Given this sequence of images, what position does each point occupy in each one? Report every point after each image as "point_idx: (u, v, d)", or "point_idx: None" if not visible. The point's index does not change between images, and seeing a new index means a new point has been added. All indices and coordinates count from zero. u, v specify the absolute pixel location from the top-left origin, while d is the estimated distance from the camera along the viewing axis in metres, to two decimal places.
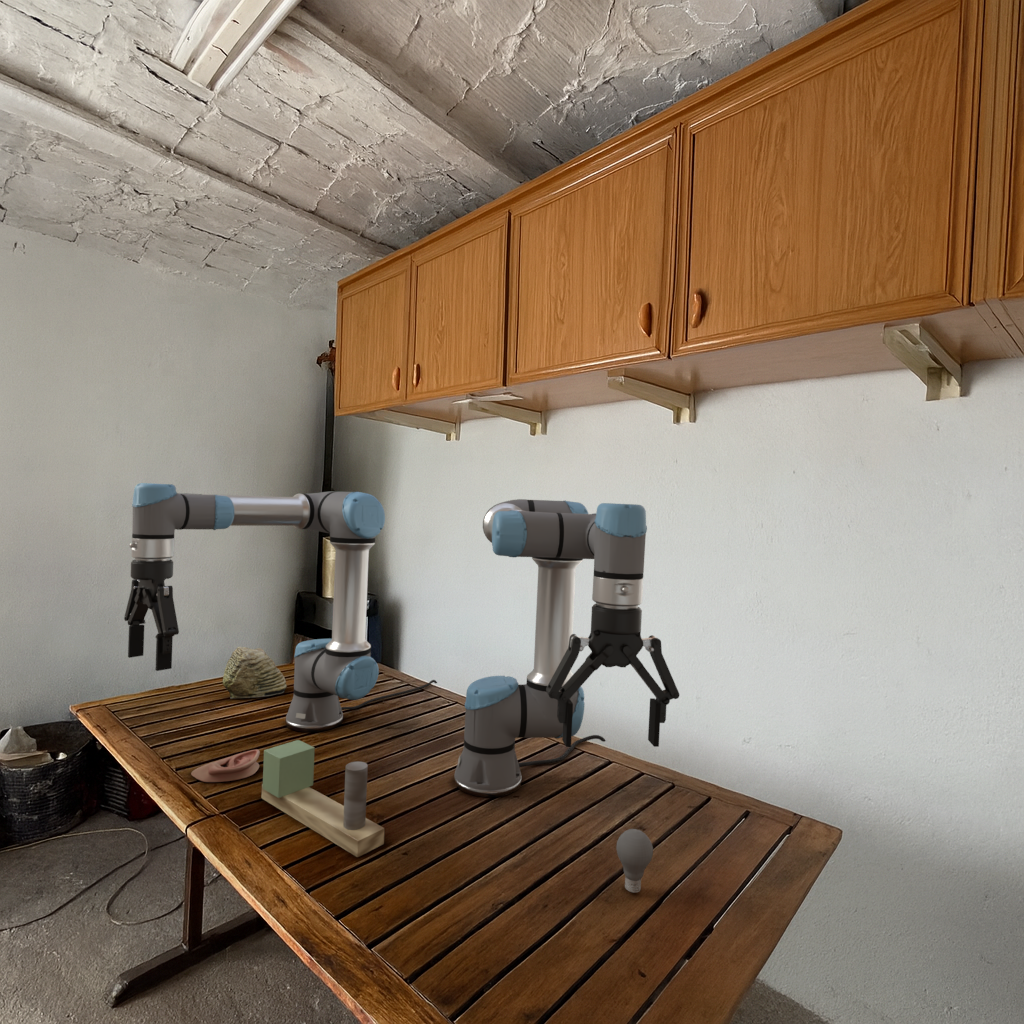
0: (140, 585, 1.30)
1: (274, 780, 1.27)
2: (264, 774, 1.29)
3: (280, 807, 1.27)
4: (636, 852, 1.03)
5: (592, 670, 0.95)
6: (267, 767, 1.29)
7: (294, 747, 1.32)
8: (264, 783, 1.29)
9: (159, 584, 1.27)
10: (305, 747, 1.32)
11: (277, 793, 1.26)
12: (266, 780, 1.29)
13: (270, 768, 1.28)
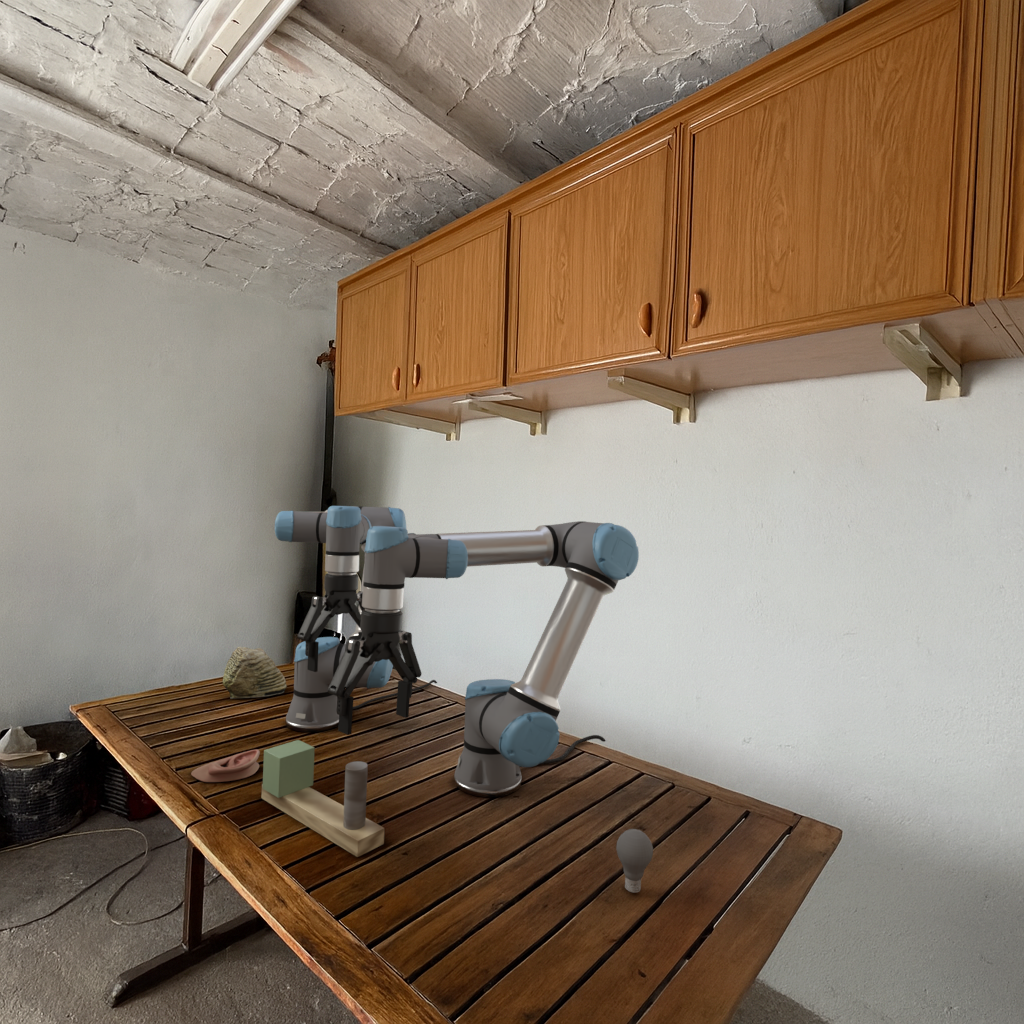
0: None
1: (274, 780, 1.27)
2: (264, 774, 1.30)
3: (280, 807, 1.27)
4: (636, 852, 1.03)
5: (389, 657, 1.21)
6: (267, 767, 1.29)
7: (294, 747, 1.32)
8: (264, 783, 1.29)
9: (327, 595, 1.42)
10: (305, 747, 1.32)
11: (277, 793, 1.26)
12: (266, 780, 1.29)
13: (270, 768, 1.28)
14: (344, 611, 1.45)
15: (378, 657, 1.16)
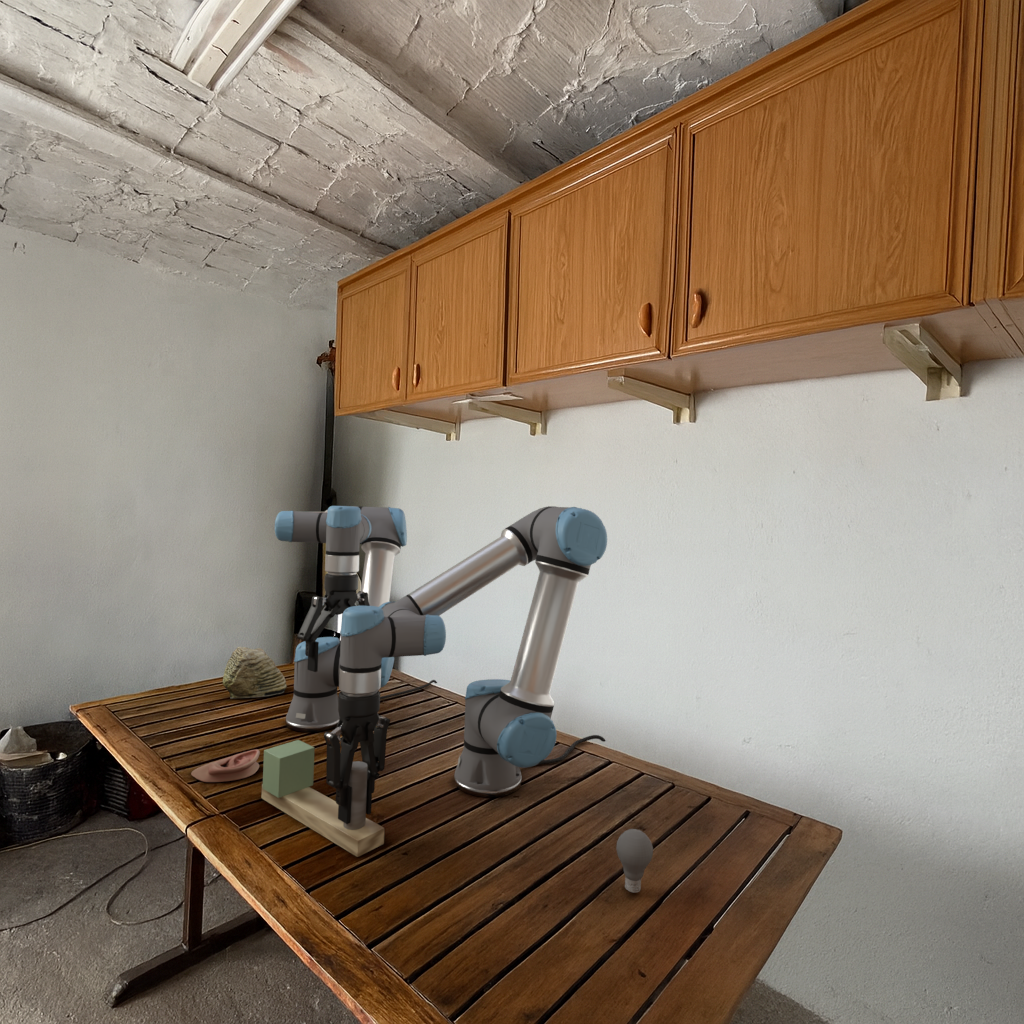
0: None
1: (274, 780, 1.27)
2: (264, 774, 1.30)
3: (280, 807, 1.27)
4: (636, 852, 1.03)
5: None
6: (267, 767, 1.29)
7: (294, 747, 1.32)
8: (264, 783, 1.29)
9: (327, 595, 1.42)
10: (305, 747, 1.32)
11: (277, 793, 1.26)
12: (266, 780, 1.29)
13: (270, 768, 1.28)
14: None
15: None
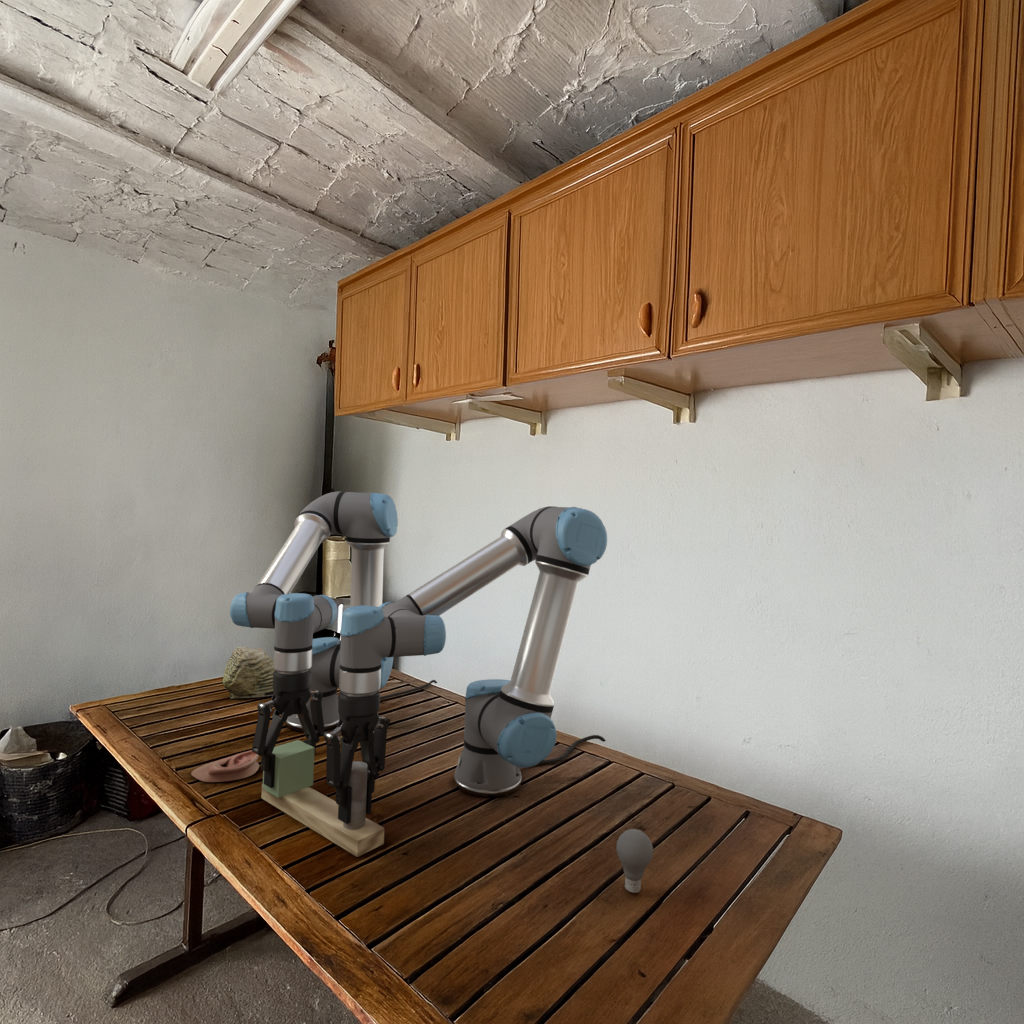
0: None
1: None
2: None
3: (280, 807, 1.27)
4: (636, 852, 1.03)
5: None
6: None
7: (294, 747, 1.32)
8: None
9: (275, 696, 1.28)
10: (305, 747, 1.32)
11: (277, 793, 1.26)
12: None
13: None
14: (295, 712, 1.30)
15: None
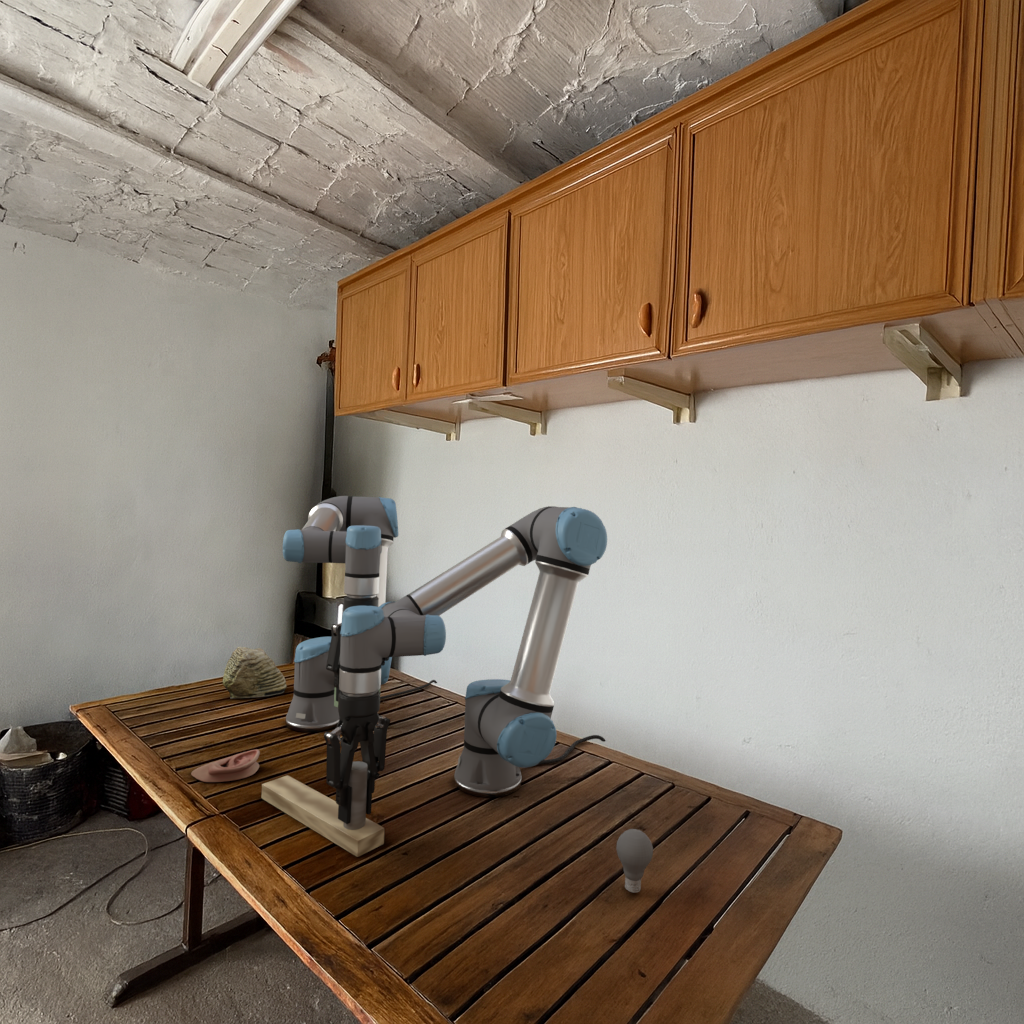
0: None
1: None
2: (335, 692, 1.39)
3: (280, 807, 1.27)
4: (636, 852, 1.03)
5: None
6: None
7: None
8: (335, 700, 1.39)
9: None
10: None
11: None
12: None
13: None
14: None
15: None
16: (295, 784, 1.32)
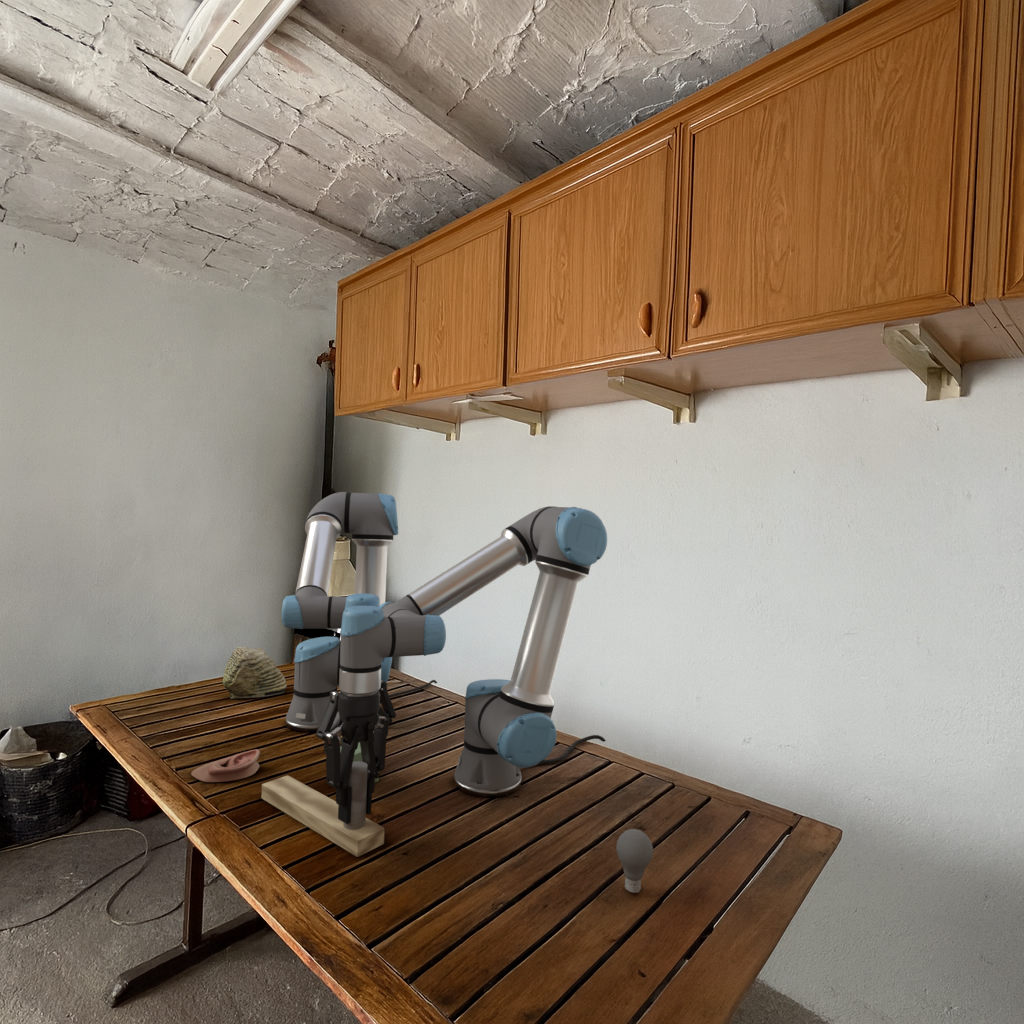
0: None
1: None
2: None
3: (280, 807, 1.27)
4: (636, 852, 1.03)
5: None
6: None
7: None
8: None
9: None
10: None
11: None
12: None
13: None
14: None
15: None
16: (295, 784, 1.32)
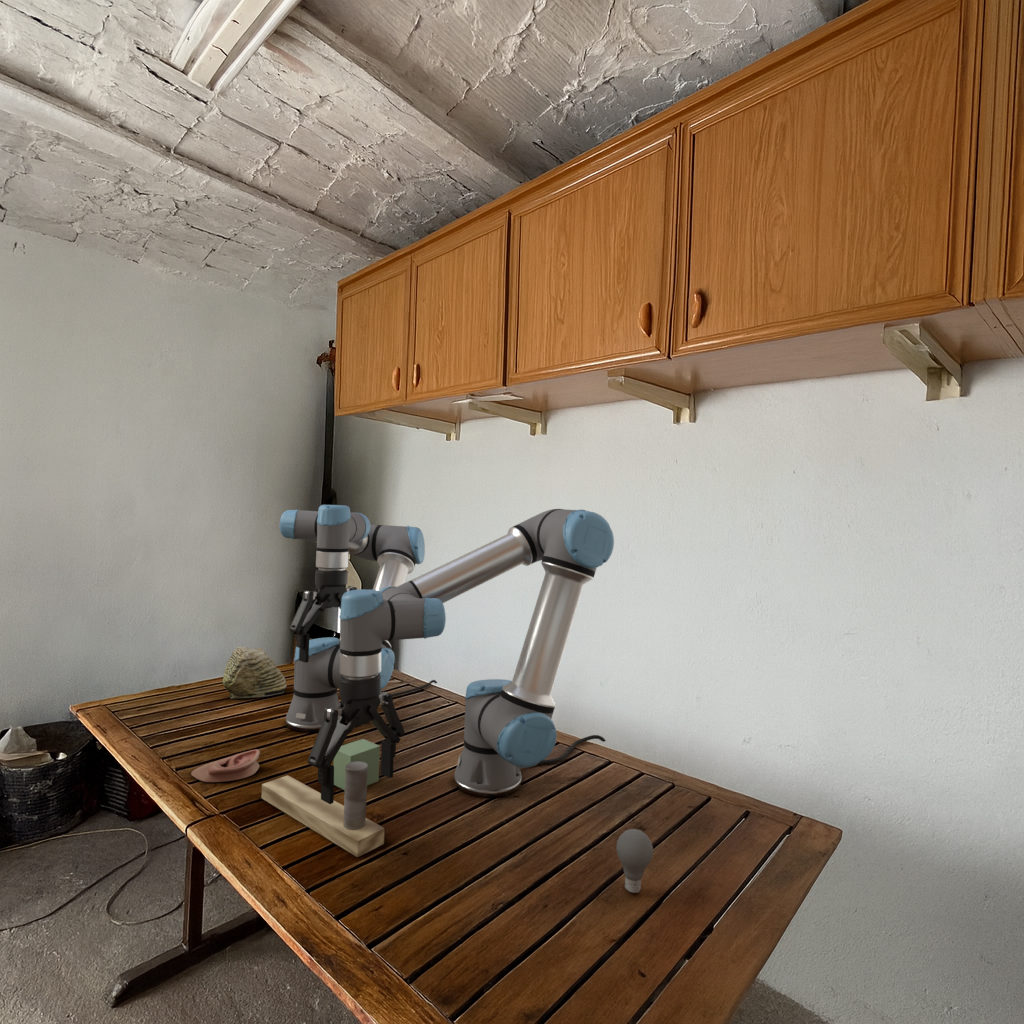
0: None
1: None
2: (334, 770, 1.39)
3: (280, 807, 1.27)
4: (636, 852, 1.03)
5: None
6: (338, 764, 1.39)
7: (361, 746, 1.41)
8: (334, 779, 1.39)
9: (317, 590, 1.50)
10: (371, 745, 1.42)
11: None
12: (336, 776, 1.39)
13: (340, 765, 1.38)
14: (334, 605, 1.52)
15: (358, 723, 1.16)
16: (295, 784, 1.32)
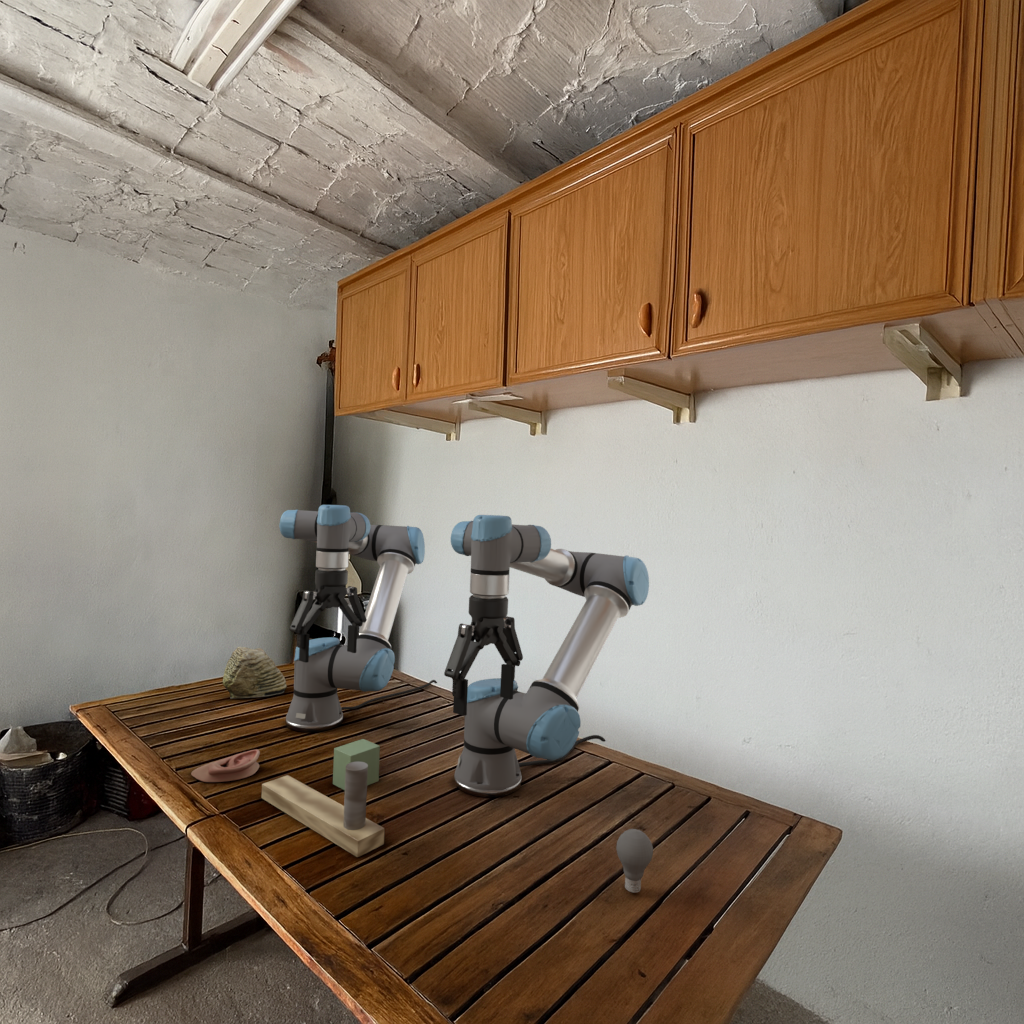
0: None
1: None
2: (334, 770, 1.39)
3: (280, 807, 1.27)
4: (636, 852, 1.03)
5: None
6: (338, 764, 1.39)
7: (361, 746, 1.41)
8: (334, 779, 1.39)
9: (317, 590, 1.50)
10: (371, 745, 1.42)
11: None
12: (336, 776, 1.39)
13: (340, 765, 1.38)
14: (334, 605, 1.52)
15: (487, 641, 1.20)
16: (295, 784, 1.32)
